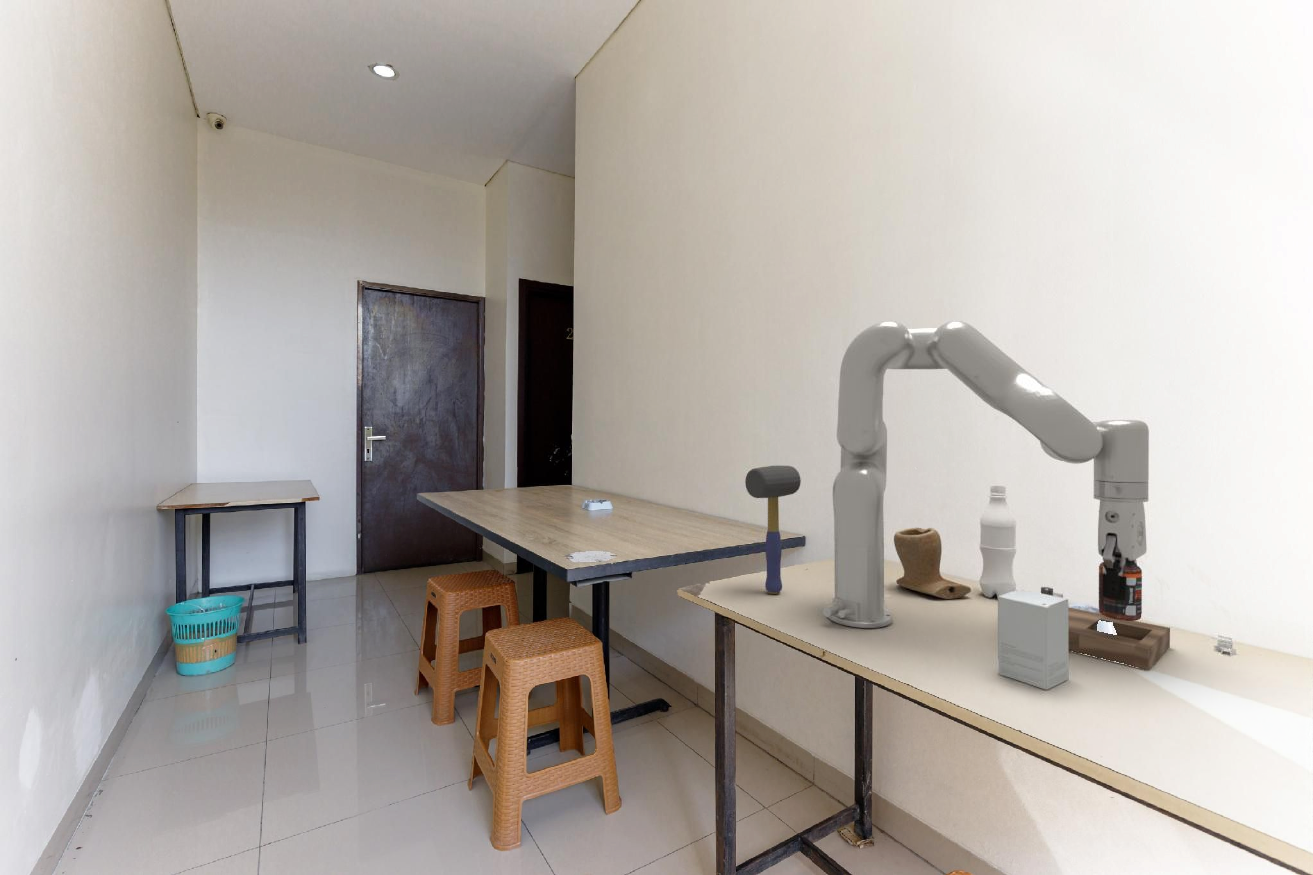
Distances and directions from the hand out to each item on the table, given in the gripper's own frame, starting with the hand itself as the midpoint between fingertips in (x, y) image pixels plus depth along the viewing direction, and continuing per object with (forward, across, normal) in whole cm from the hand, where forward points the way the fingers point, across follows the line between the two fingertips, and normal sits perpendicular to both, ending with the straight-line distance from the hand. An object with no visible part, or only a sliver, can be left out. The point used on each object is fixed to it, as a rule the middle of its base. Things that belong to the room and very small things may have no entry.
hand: (1120, 593), depth 104 cm
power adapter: (+11, +10, -12) cm, 19 cm away
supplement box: (+10, -24, +6) cm, 26 cm away
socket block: (+10, 0, +6) cm, 11 cm away
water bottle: (+10, +17, +27) cm, 33 cm away
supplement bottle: (+4, 0, 0) cm, 4 cm away
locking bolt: (+6, +4, +13) cm, 15 cm away
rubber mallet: (+10, -19, +62) cm, 65 cm away
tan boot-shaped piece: (+10, +8, +39) cm, 41 cm away
